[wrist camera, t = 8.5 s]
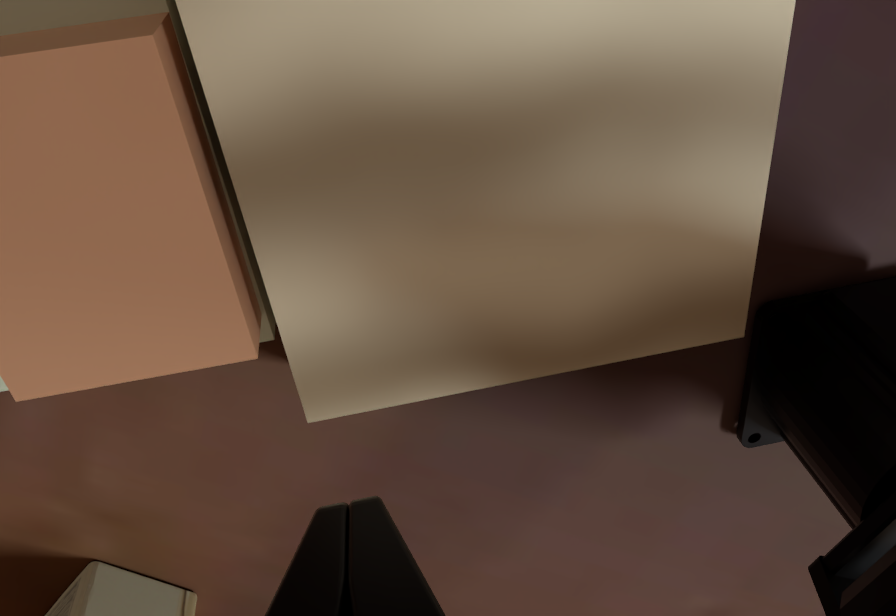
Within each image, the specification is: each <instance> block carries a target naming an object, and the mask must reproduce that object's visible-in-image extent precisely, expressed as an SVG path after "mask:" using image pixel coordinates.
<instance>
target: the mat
mask: <svg viewBox="0 0 896 616" xmlns="http://www.w3.org/2000/svg"><path fill="white" fill-rule="evenodd" d="M165 12H169V14H170V17H171V20H172V24H173V27H174V30H175V33H176V37H177V40H178V43H179V46H180V50H181V53H182V56H183V59H184V63H185V66H186V69H187V72H188V76H189V79H190V82H191V85H192V89H193V92H194V95H195V98H196V102H197V105H198V108H199V111H200V115H201V118H202V121H203V124H204V128H205V131H206V134H207V138H208V141H209V144H210V147H211V151H212V154H213V157H214V160H215V164H216V167H217V170H218V173H219V177H220V180H221V183H222V186H223V190H224V193H225V196H226V199H227V203H228V206H229V209H230V212H231V216H232V219H233V222H234V225H235V229H236V232H237V235H238V238H239V242H240V245H241V248H242V252H243V255H244V258H245V261H246V265H247V268H248V271H249V274H250V278H251V281H252V284H253V287H254V291H255V294H256V297H257V300H258V304H259V307H260V310H261V313H262V318H261V329H260V340H259V343H260V342H266V341H271V340H275V323H276V320H275V317H274V313H273V310H272V307H271V304H270V301H269V297H268V294H267V291H266V288H265V285H264V282H263V278H262V275H261V272H260V269H259V266H258V262H257V259H256V256H255V253H254V250H253V247H252V243H251V240H250V237H249V234H248V231H247V227H246V224H245V221H244V218H243V215H242V212H241V208H240V205H239V202H238V199H237V196H236V192H235V189H234V186H233V183H232V180H231V176H230V173H229V170H228V167H227V164H226V161H225V157H224V154H223V151H222V148H221V145H220V141H219V138H218V135H217V132H216V129H215V126H214V122H213V119H212V116H211V113H210V110H209V106H208V103H207V100H206V97H205V94H204V90H203V87H202V84H201V81H200V78H199V75H198V71H197V68H196V65H195V62H194V59H193V55H192V52H191V49H190V46H189V43H188V40H187V36H186V33H185V30H184V27H183V24H182V20H181V17H180V14H179V11H178V8H177V5H176V1H175V0H0V36H2V35H9V34H16V33H23V32H30V31H38V30H45V29H52V28H59V27H66V26H73V25H80V24H87V23H94V22H101V21H108V20H115V19H122V18H129V17H136V16H143V15H150V14H158V13H165ZM6 390H9V389H8V388H7V386H6V384H5V383H4V381H3V379H2V378H1V376H0V392H1V391H6Z"/></svg>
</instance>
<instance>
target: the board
mask: <svg viewBox="0 0 896 616" xmlns="http://www.w3.org/2000/svg"><path fill="white" fill-rule="evenodd" d="M175 1H176V5H177V8H178V11H179V14H180V17H181V20H182V24H183V27H184V30H185V33H186V36H187V40H188V43H189V46H190V49H191V52H192V55H193V59H194V62H195V65H196V68H197V71H198V75H199V78H200V81H201V84H202V87H203V90H204V94H205V97H206V100H207V103H208V106H209V110H210V113H211V116H212V119H213V122H214V126H215V129H216V132H217V135H218V138H219V141H220V145H221V148H222V151H223V154H224V157H225V161H226V164H227V167H228V170H229V173H230V176H231V180H232V183H233V186H234V189H235V192H236V196H237V199H238V202H239V205H240V208H241V212H242V215H243V218H244V221H245V224H246V227H247V231H248V234H249V237H250V240H251V243H252V247H253V250H254V253H255V256H256V259H257V262H258V266H259V269H260V272H261V275H262V278H263V282H264V285H265V288H266V291H267V294H268V297H269V301H270V304H271V307H272V310H273V313H274V317H275V320H276V323H277V326H278V329H279V333H280V336H281V339H282V342H283V345H284V348H285V352H286V355H287V358H288V361H289V364H290V368H291V371H292V374H293V377H294V380H295V383H296V387H297V390H298V393H299V396H300V399H301V403H302V406H303V409H304V412H305V415H306V419H307V422H308V423H310V422H315V421H320V420H326V419H331V418H336V417H341V416H346V415H351V414H356V413H361V412H366V411H371V410H376V409H381V408H386V407H391V406H396V405H401V404H407V403H412V402H417V401H422V400H427V399H432V398H437V397H442V396H447V395H452V394H457V393H462V392H467V391H472V390H477V389H483V388H488V387H493V386H498V385H503V384H508V383H513V382H518V381H523V380H528V379H533V378H538V377H543V376H548V375H553V374H559V373H564V372H569V371H574V370H579V369H584V368H589V367H594V366H599V365H604V364H609V363H614V362H619V361H624V360H629V359H634V358H640V357H645V356H650V355H655V354H660V353H665V352H670V351H675V350H680V349H685V348H690V347H695V346H700V345H705V344H710V343H716V342H721V341H726V340H731V339H736V338H741V337H744V334H745V327H746V321H747V314H748V307H749V301H750V294H751V288H752V281H753V275H754V268H755V262H756V255H757V249H758V242H759V236H760V229H761V223H762V216H763V210H764V203H765V197H766V190H767V183H768V177H769V170H770V164H771V157H772V151H773V144H774V138H775V131H776V125H777V118H778V112H779V105H780V99H781V92H782V86H783V79H784V73H785V66H786V60H787V53H788V46H789V40H790V33H791V27H792V20H793V14H794V7H795V1H796V0H175Z"/></svg>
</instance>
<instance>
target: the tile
mask: <svg viewBox="0 0 896 616" xmlns="http://www.w3.org/2000/svg"><path fill="white" fill-rule="evenodd" d="M261 318H262V313H261V310H260V307H259V304H258V300H257V297H256V294H255V291H254V287H253V284H252V281H251V278H250V274H249V271H248V268H247V265H246V261H245V258H244V255H243V252H242V248H241V245H240V242H239V238H238V235H237V232H236V229H235V225H234V222H233V219H232V216H231V212H230V209H229V206H228V203H227V199H226V196H225V193H224V190H223V186H222V183H221V180H220V177H219V173H218V170H217V167H216V164H215V160H214V157H213V154H212V151H211V147H210V144H209V141H208V138H207V134H206V131H205V128H204V124H203V121H202V118H201V115H200V111H199V108H198V105H197V102H196V98H195V95H194V92H193V89H192V85H191V82H190V79H189V76H188V72H187V69H186V66H185V63H184V59H183V56H182V53H181V50H180V46H179V43H178V40H177V37H176V33H175V30H174V27H173V24H172V20H171V17H170V14H169V12H165V13H158V14H150V15H143V16H136V17H129V18H122V19H115V20H108V21H101V22H94V23H87V24H80V25H73V26H66V27H59V28H52V29H45V30H38V31H30V32H23V33H16V34H9V35H2V36H0V376H1V378H2V379H3V381H4V383H5V384H6V386H7V388H8V389H9V391H10V393H11V394H12V396H13V398H14V399H15V401H16V402H18V401H23V400H29V399H34V398H40V397H46V396H51V395H57V394H62V393H68V392H73V391H79V390H85V389H90V388H96V387H101V386H107V385H113V384H118V383H124V382H129V381H135V380H141V379H146V378H152V377H157V376H163V375H169V374H174V373H180V372H185V371H191V370H197V369H202V368H208V367H213V366H219V365H225V364H230V363H236V362H241V361H247V360H252V359H258V351H259V340H260V329H261Z"/></svg>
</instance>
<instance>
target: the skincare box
mask: <svg viewBox="0 0 896 616" xmlns="http://www.w3.org/2000/svg"><path fill="white" fill-rule="evenodd" d="M196 601H197V595H196V594H195V593H193V592H190V591H187V590H184V589H181V588H178V587H175V586H172V585H169V584H166V583H163V582H160V581H157V580H154V579H151V578H148V577H144V576H141V575H138V574H135V573H132V572H129V571H126V570H123V569H120V568H116V567H113V566H110V565H108V564H105V563H102V562H97V561H93V562H91V563H89V564H88V565H87V567H86V568H85V569H84V570H83V571H82V572H81V573H80V575H79V576H78V577H77V578H76V579H75V580H74V581H73V582H72V584H71V585H70V586H69V587H68V588H67V590H66V591H65V592H64V593H63V594H62V595H61V597H60V598H59V599H58V601H57V602H56V603H55V604H54V605H53V606H52V608H51V609H50V610H49V611H48V612H47V614H46V615H45V616H194V615H195V608H196Z"/></svg>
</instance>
